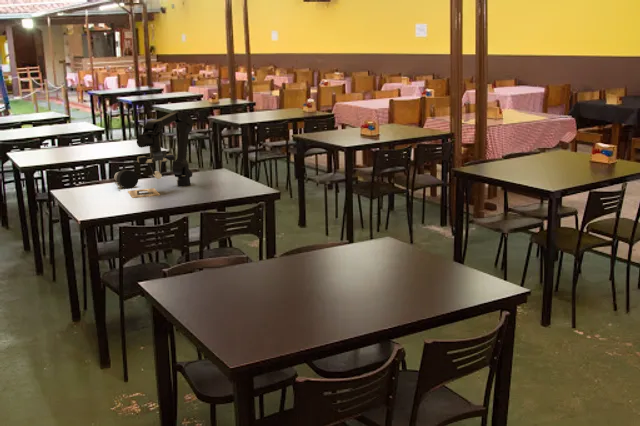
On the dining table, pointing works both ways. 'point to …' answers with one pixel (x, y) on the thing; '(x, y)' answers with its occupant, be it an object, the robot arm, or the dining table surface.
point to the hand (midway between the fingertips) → (157, 174)
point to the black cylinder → (126, 178)
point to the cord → (157, 175)
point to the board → (137, 195)
